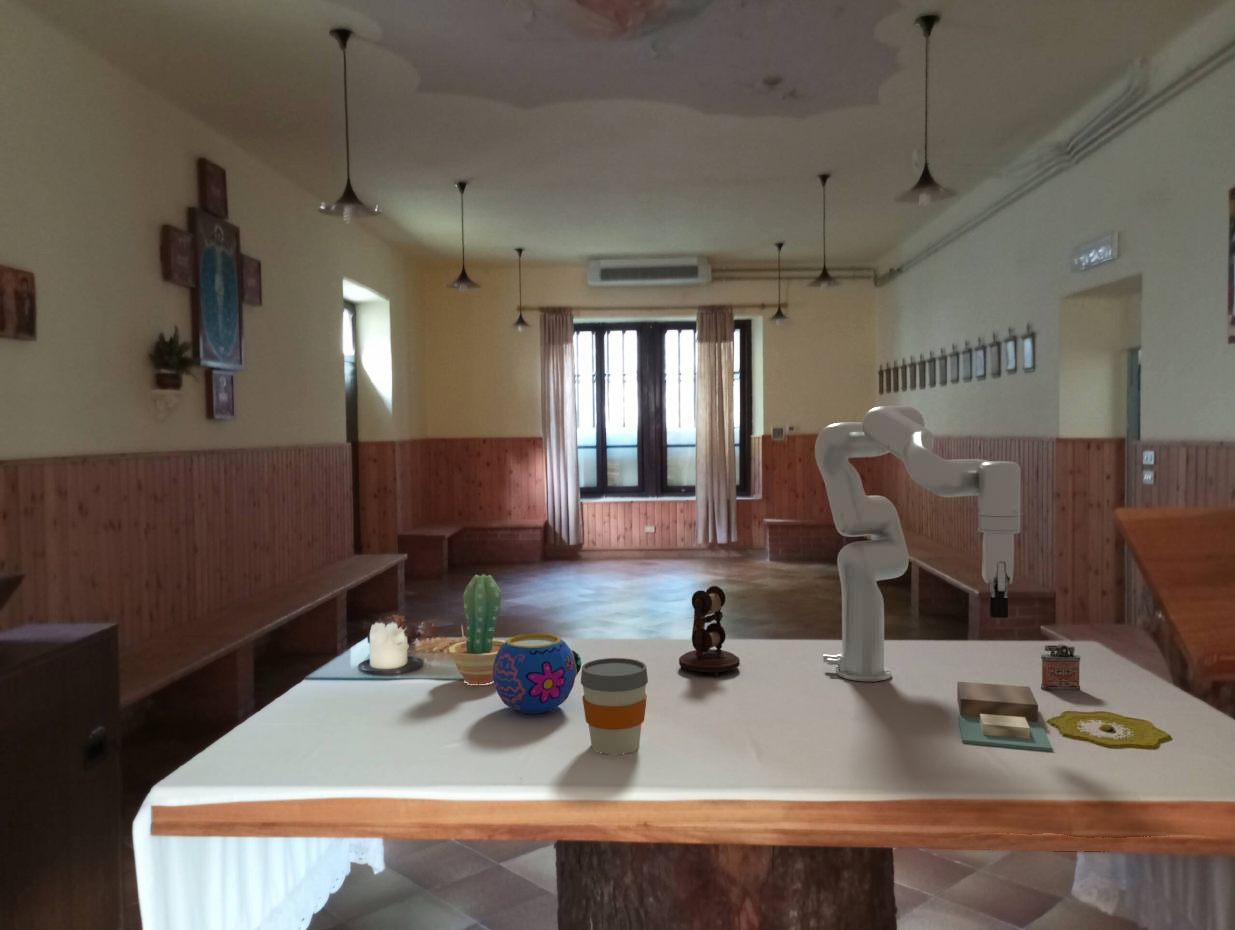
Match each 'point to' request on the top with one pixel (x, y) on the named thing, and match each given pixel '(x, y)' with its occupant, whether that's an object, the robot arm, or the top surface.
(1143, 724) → the decorative medallion
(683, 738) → the top surface
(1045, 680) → the lighter
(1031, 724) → the mat
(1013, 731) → the tile
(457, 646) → the potted cactus
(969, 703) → the brown flat block
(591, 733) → the reusable coffee cup
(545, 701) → the ceramic pot
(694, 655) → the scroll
